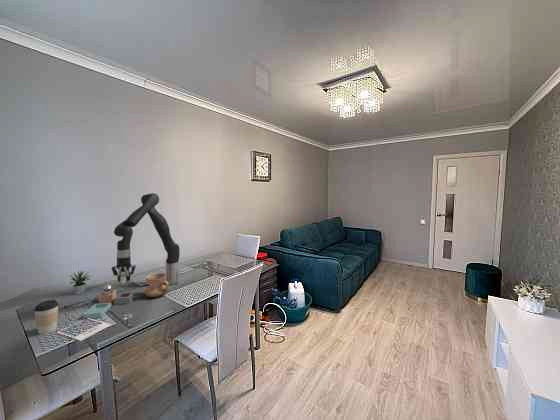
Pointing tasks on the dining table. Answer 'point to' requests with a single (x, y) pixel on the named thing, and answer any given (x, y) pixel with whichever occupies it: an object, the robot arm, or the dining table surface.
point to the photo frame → (89, 332)
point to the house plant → (79, 282)
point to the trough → (97, 310)
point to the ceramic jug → (156, 285)
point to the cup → (107, 297)
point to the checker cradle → (124, 298)
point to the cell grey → (107, 289)
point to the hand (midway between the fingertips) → (124, 281)
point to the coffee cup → (46, 316)
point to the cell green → (123, 279)
